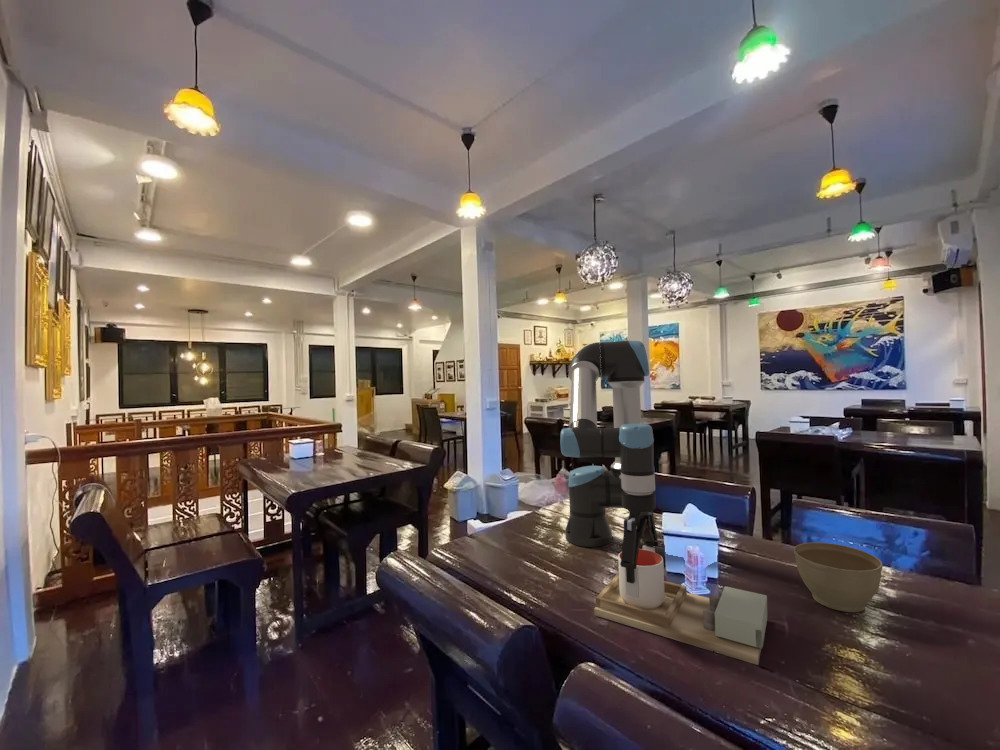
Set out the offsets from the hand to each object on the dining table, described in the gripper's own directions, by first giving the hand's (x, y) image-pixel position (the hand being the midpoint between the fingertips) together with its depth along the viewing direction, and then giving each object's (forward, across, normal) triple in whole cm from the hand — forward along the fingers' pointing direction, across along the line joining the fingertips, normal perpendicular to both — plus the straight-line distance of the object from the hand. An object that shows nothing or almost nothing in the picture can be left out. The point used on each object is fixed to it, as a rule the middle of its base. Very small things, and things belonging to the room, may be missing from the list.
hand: (641, 584), depth 101 cm
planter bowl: (+6, -25, +37) cm, 45 cm away
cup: (+4, 0, 0) cm, 4 cm away
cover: (+3, 0, +21) cm, 21 cm away
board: (+5, 0, +8) cm, 10 cm away
